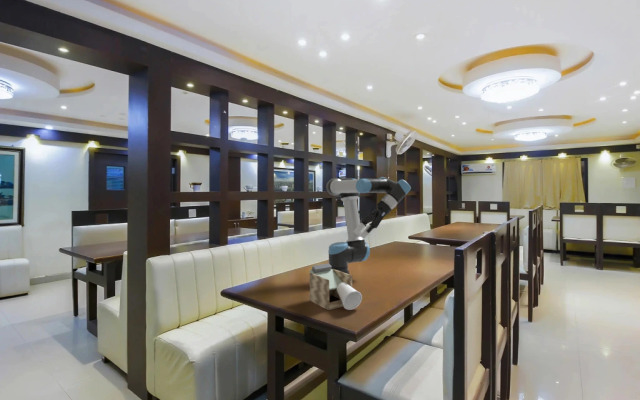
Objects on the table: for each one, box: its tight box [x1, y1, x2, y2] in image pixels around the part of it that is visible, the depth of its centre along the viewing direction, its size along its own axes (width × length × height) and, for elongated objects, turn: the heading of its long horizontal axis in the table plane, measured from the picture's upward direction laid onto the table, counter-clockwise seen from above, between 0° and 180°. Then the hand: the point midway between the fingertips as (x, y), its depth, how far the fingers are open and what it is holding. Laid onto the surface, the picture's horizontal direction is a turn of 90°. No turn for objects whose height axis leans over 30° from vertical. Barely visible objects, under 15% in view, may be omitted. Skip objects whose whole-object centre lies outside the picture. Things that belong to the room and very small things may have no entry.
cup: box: [337, 282, 363, 311], centre depth 149 cm, size 10×10×11 cm
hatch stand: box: [309, 269, 353, 311], centre depth 156 cm, size 16×15×14 cm
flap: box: [309, 262, 343, 290], centre depth 158 cm, size 15×12×3 cm
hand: (358, 234), depth 160 cm, fingers open, 13 cm apart
